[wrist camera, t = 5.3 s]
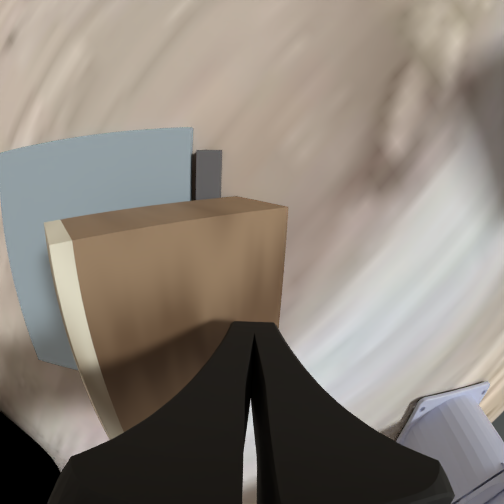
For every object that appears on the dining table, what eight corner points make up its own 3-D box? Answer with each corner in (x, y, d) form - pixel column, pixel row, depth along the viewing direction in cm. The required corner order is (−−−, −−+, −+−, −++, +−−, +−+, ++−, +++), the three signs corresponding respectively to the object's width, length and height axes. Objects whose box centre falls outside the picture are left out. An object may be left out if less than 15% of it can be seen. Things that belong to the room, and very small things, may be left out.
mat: (200, 385, 16) (199, 389, 16) (41, 356, 16) (38, 359, 16) (192, 128, 12) (191, 127, 12) (2, 152, 12) (-2, 153, 11)
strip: (221, 375, 16) (220, 381, 15) (204, 373, 16) (202, 380, 15) (222, 150, 12) (220, 150, 12) (199, 150, 12) (196, 150, 12)
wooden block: (273, 377, 13) (117, 453, 8) (233, 348, 15) (92, 404, 10) (288, 207, 11) (49, 245, 6) (236, 196, 13) (43, 222, 8)
